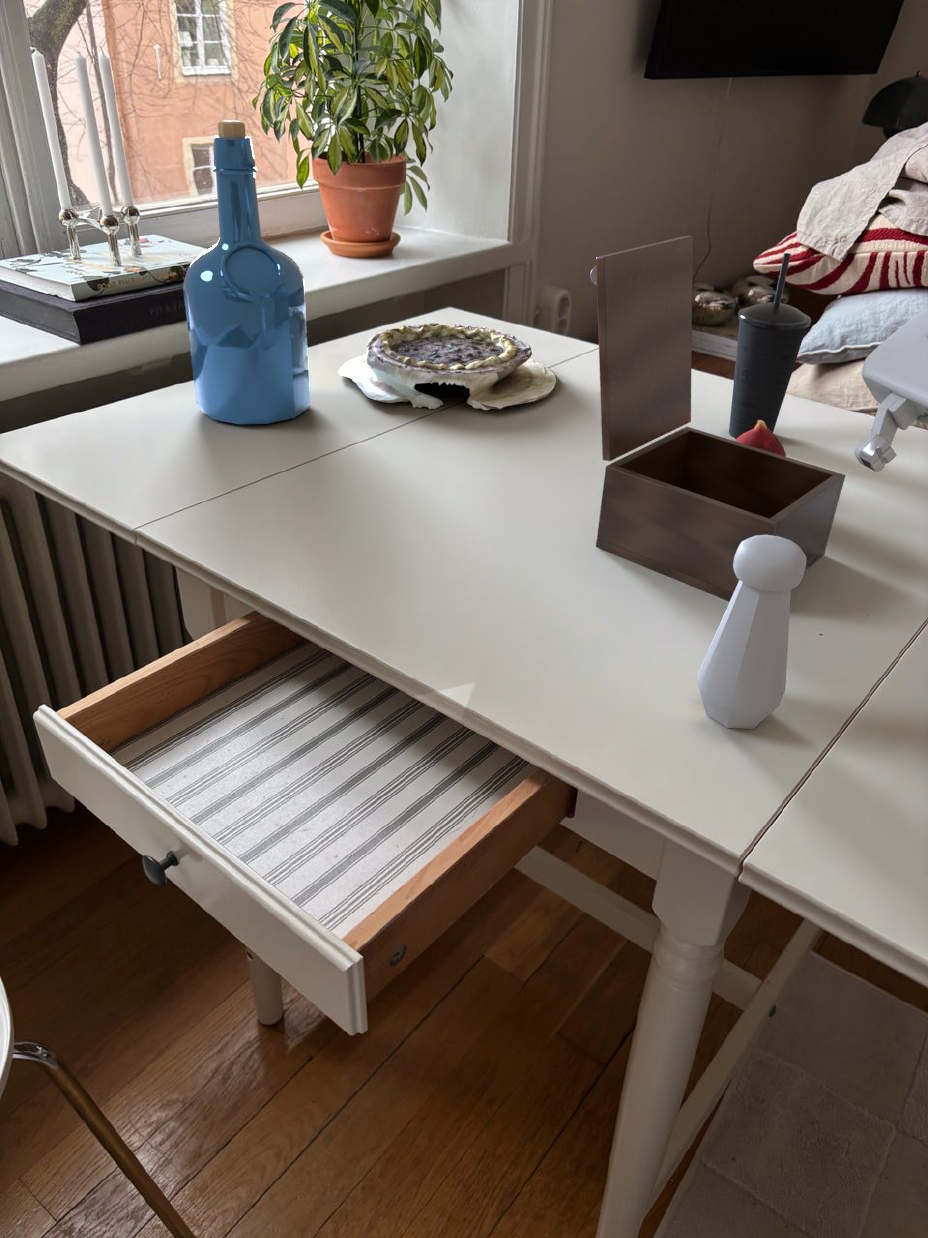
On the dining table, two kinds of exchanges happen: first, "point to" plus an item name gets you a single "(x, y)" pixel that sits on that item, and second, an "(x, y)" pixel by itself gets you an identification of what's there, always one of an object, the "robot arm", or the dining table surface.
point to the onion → (762, 439)
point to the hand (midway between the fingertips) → (916, 492)
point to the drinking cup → (765, 359)
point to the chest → (711, 506)
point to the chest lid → (644, 342)
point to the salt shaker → (752, 635)
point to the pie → (449, 366)
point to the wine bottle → (245, 305)
